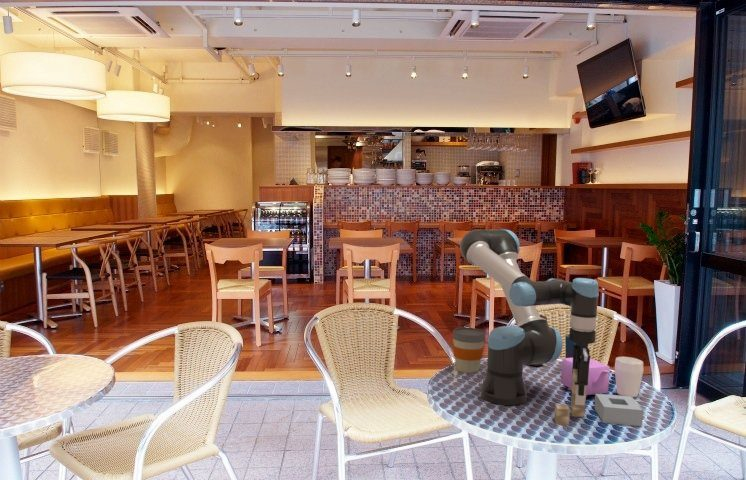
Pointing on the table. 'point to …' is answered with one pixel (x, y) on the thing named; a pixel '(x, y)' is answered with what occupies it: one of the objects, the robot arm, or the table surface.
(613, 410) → the socket block
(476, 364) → the reusable coffee cup
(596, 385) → the teapot
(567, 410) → the short peg
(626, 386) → the cup
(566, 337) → the cup
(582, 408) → the long peg
